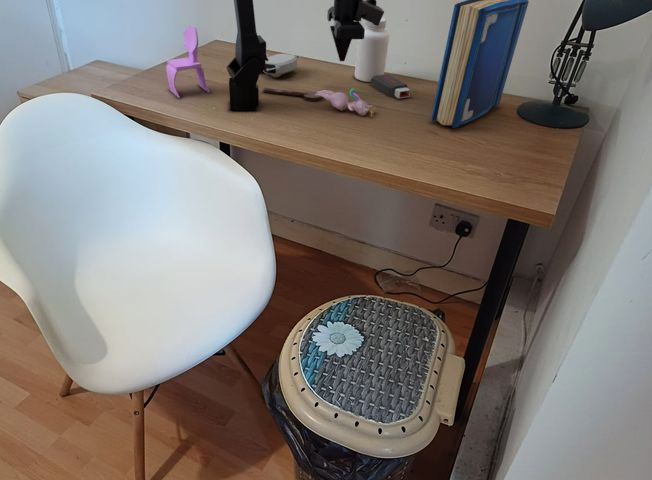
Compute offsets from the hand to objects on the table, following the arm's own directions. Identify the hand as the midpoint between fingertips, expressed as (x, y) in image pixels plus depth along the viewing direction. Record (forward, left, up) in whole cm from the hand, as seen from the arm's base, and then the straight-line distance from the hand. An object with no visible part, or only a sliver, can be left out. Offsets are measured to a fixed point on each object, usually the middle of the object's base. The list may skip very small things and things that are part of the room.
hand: (341, 60), depth 127 cm
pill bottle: (+10, +15, -9) cm, 20 cm away
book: (+29, -11, -9) cm, 33 cm away
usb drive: (+14, +5, -9) cm, 17 cm away
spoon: (-12, +2, -9) cm, 15 cm away
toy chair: (-38, +5, -9) cm, 39 cm away
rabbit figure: (0, -8, -9) cm, 12 cm away
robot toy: (-17, +20, -9) cm, 27 cm away
